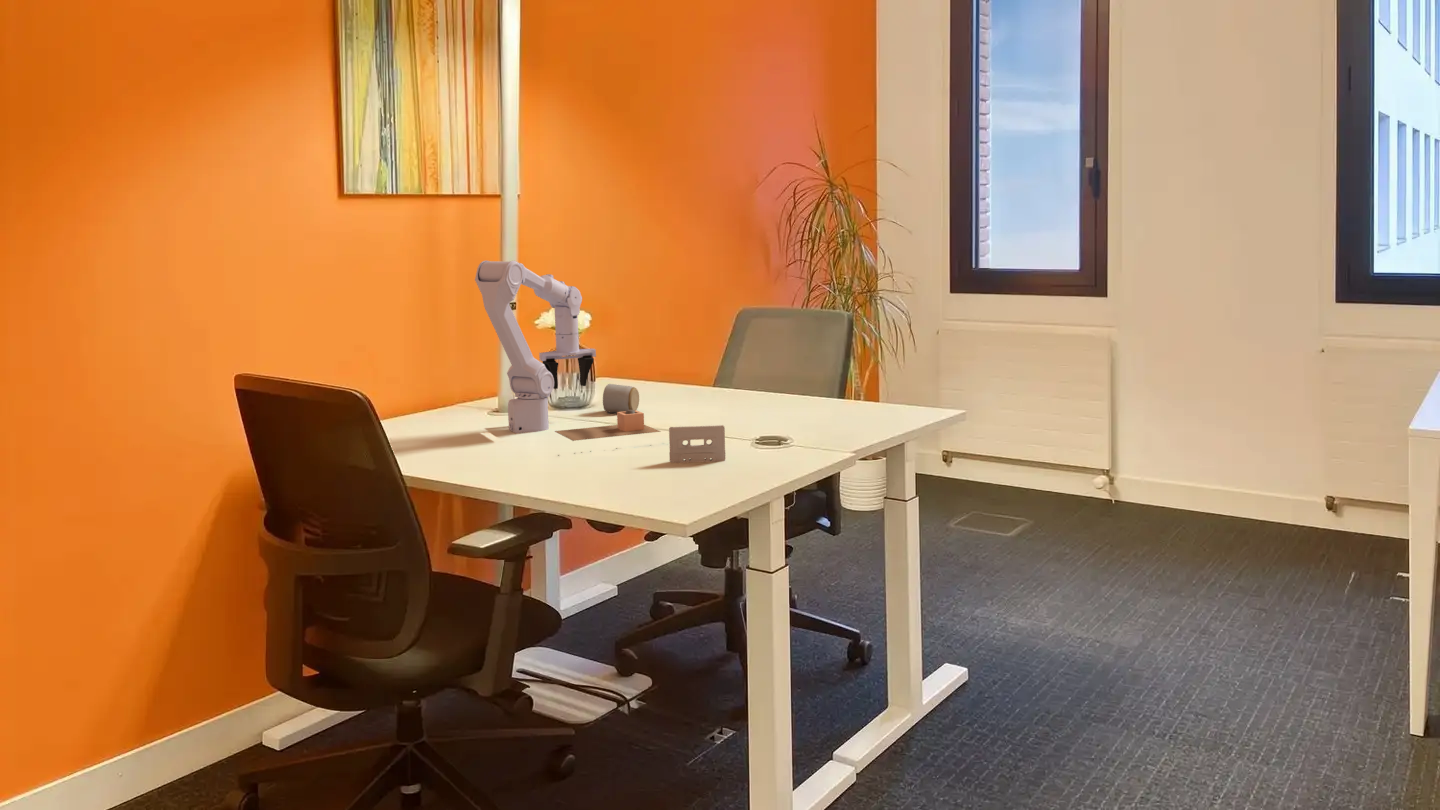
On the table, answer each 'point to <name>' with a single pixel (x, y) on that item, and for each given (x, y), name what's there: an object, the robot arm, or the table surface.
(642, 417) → the collar
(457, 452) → the table surface
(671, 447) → the cassette
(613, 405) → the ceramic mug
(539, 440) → the table surface
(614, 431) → the plate
